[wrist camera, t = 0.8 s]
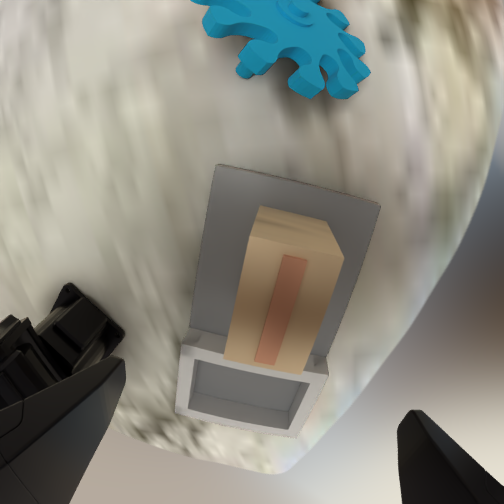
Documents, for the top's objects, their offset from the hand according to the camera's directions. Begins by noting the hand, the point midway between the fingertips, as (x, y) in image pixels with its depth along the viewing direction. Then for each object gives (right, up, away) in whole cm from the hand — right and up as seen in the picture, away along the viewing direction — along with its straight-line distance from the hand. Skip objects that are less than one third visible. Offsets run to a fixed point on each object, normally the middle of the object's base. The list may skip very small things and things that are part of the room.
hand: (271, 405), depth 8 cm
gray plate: (0, 0, +14) cm, 14 cm away
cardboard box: (+1, +4, +11) cm, 12 cm away
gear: (+1, +18, +8) cm, 19 cm away
